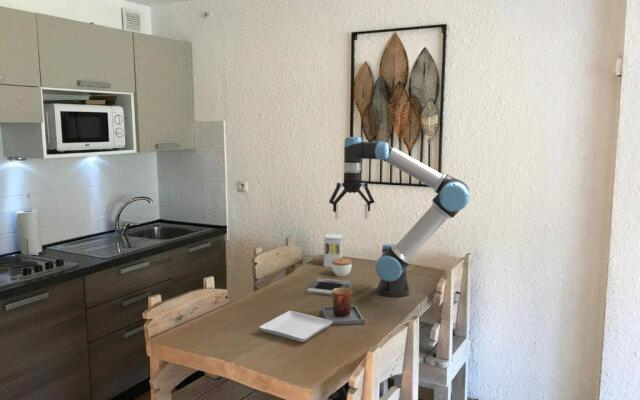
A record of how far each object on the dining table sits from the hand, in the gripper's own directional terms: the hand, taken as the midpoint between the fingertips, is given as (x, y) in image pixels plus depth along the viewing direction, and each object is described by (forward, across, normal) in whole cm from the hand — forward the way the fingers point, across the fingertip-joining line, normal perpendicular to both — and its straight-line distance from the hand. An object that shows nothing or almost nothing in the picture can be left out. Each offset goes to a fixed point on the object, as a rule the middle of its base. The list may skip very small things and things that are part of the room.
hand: (351, 218), depth 247 cm
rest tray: (+37, +8, +25) cm, 45 cm away
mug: (+36, +8, +25) cm, 45 cm away
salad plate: (+37, +28, +37) cm, 60 cm away
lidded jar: (+37, -2, -36) cm, 52 cm away
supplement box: (+37, -1, -56) cm, 67 cm away
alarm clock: (+38, +8, -11) cm, 40 cm away
